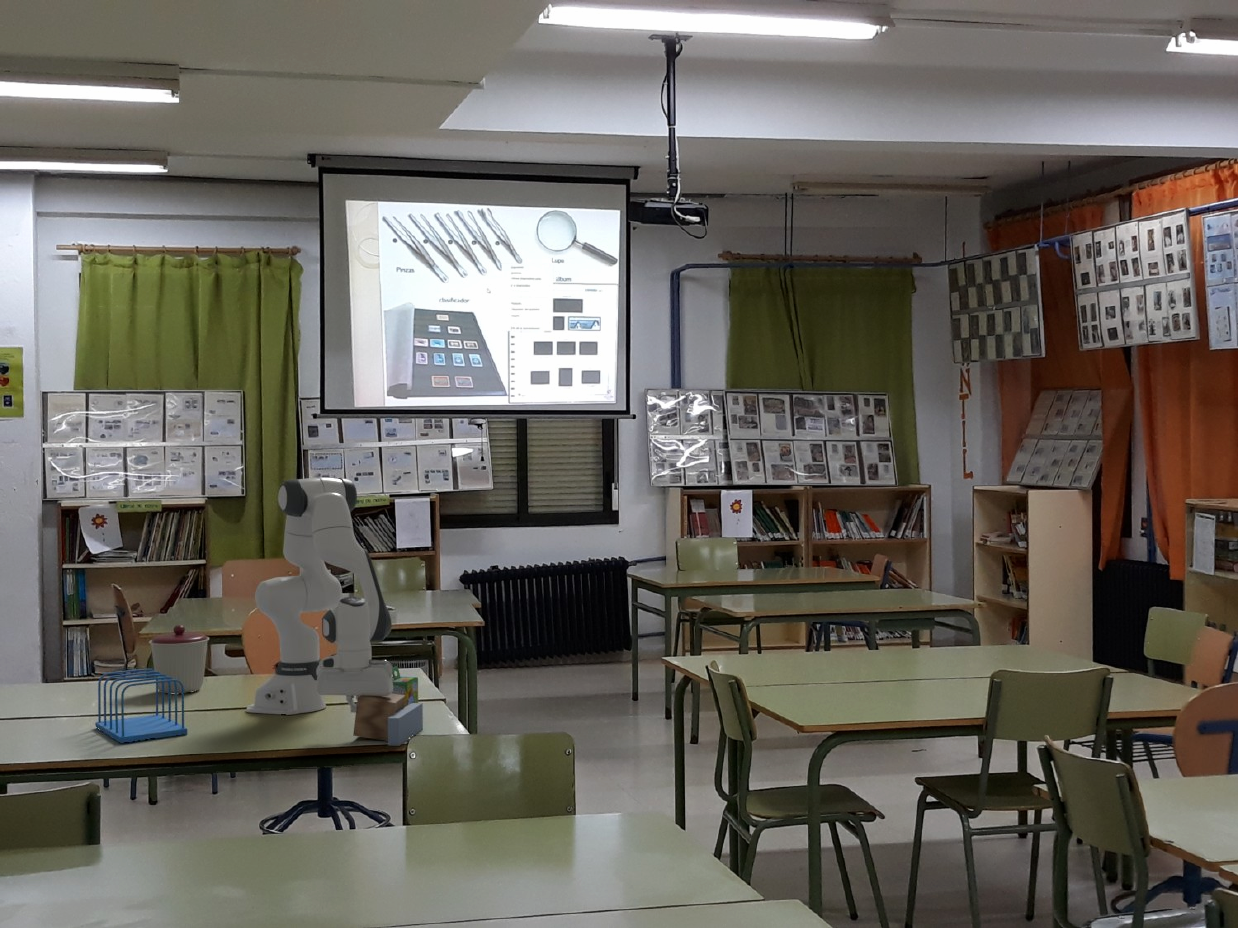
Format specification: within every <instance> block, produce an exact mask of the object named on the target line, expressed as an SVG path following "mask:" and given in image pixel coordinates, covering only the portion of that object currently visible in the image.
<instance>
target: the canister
mask: <svg viewBox="0 0 1238 928" xmlns="http://www.w3.org/2000/svg"><path fill="white" fill-rule="evenodd" d="M172 631H173V633H165V634H161V635H157V636H155V637H153V638H152V639H150V640H149V641H148V643H149V645H150V646H151V654H152V663H153V670H154V671H157V672H159V673H161V674H165V675H167V676H168V677H171V678H173V679H175V680H179V681H180V682H181V683H182V684H183V687H184V692H191V691H195V690H197V691H199V690H201V688H202V686H203V685H204V684H203V683H204V678H205V670H206V661H207V650H208V641H209V640H210V637H209V636H206V634H204V633H200V632H185V631H186V628H185V626H184V625H182V624H178V625H175V626H174V627H173V630H172ZM158 677H161V676H158ZM163 677H164V676H163ZM154 678H156V676H155V677H154ZM164 680H167V679H164ZM170 680H171V679H170ZM158 681H162V679H158ZM170 683H171V693H175V685H174V682H170ZM176 683H177V693H182V690H181V685H180V684H179V683H178V682H176ZM160 691H161V692H160ZM158 692H160V693H162V683H158ZM195 692H196V691H195ZM165 693H168V682H164V694H165ZM191 693H192V692H191Z"/></svg>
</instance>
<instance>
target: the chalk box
mask: <svg viewBox="0 0 1238 928" xmlns="http://www.w3.org/2000/svg"><path fill="white" fill-rule="evenodd" d="M395 672H396V674H395ZM392 681H393V692H392V694H399V695H405V703H404V708H405V707H406V706H408V705H409V704H411V703H419V678H418V676H417V677H416V676H401V674H400V671H399V667H398V666H397V665H396V666H392Z"/></svg>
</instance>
